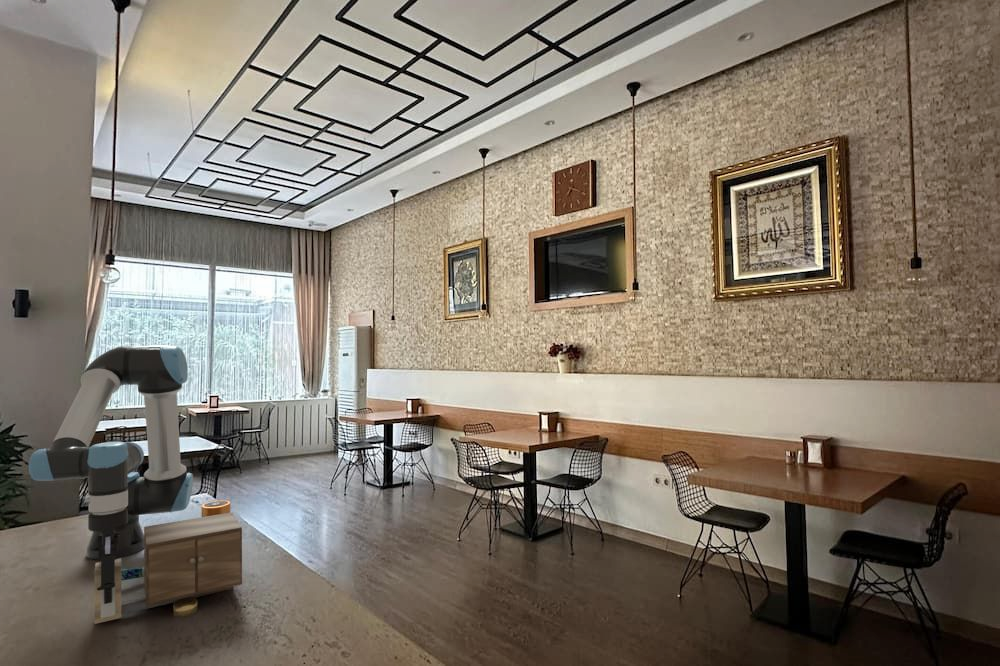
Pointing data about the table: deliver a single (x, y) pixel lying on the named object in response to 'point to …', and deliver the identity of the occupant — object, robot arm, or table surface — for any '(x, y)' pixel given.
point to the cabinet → (192, 558)
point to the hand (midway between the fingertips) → (108, 610)
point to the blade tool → (119, 596)
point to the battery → (215, 508)
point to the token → (185, 607)
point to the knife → (132, 573)
